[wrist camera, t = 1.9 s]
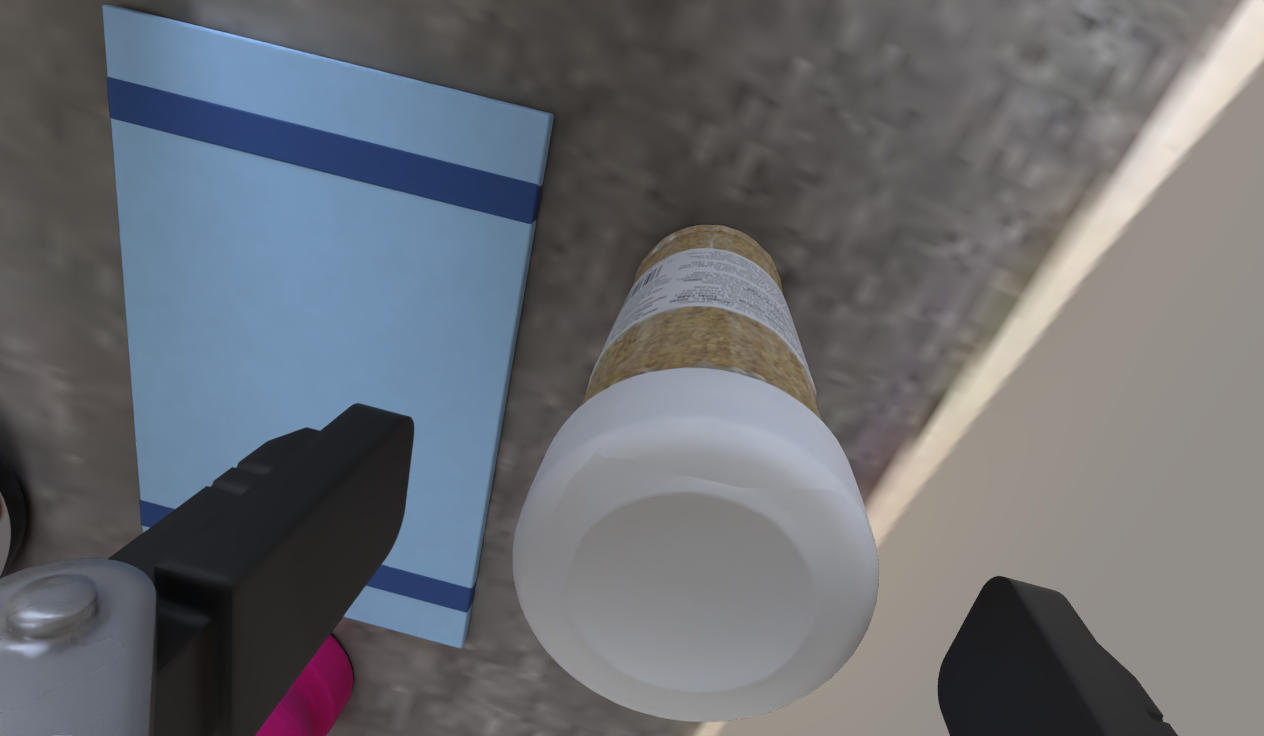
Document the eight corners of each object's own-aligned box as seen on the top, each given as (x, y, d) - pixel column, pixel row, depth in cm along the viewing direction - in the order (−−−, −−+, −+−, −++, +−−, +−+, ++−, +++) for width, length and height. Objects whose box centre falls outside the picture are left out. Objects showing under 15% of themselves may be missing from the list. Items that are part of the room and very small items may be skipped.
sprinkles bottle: (701, 392, 22) (678, 788, 9) (601, 290, 21) (426, 577, 8) (816, 299, 20) (971, 625, 8) (713, 184, 19) (701, 345, 7)
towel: (118, 5, 19) (99, 3, 19) (555, 114, 19) (549, 114, 18) (156, 554, 27) (143, 564, 27) (466, 638, 27) (461, 650, 26)
